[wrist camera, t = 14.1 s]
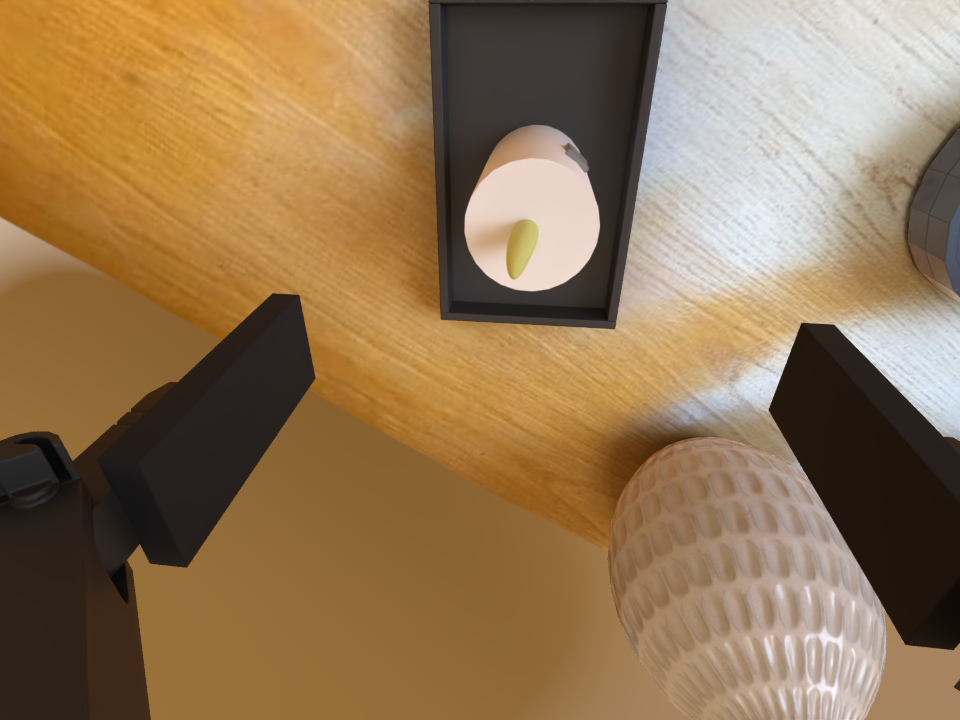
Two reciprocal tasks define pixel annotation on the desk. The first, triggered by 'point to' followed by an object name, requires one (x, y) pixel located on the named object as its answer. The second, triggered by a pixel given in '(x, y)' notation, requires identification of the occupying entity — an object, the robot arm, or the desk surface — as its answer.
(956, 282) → the bowl
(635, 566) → the vase
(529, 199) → the candle
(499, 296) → the tray
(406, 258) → the desk surface
